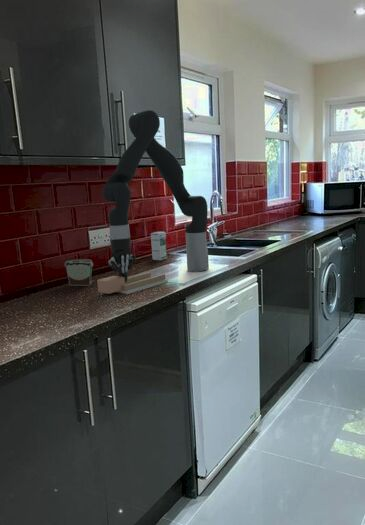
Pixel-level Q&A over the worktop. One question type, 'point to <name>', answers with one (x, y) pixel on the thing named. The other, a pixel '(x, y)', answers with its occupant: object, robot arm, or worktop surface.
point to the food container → (79, 272)
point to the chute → (142, 282)
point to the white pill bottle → (159, 245)
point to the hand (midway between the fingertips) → (123, 282)
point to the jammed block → (110, 284)
